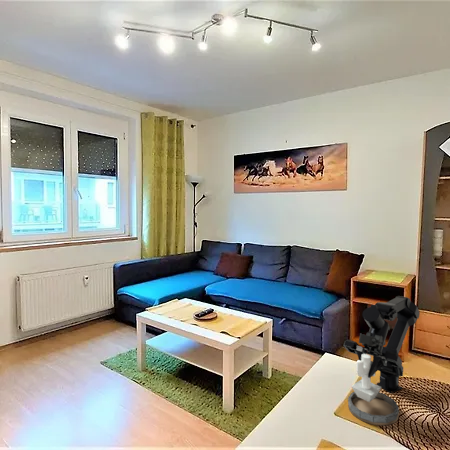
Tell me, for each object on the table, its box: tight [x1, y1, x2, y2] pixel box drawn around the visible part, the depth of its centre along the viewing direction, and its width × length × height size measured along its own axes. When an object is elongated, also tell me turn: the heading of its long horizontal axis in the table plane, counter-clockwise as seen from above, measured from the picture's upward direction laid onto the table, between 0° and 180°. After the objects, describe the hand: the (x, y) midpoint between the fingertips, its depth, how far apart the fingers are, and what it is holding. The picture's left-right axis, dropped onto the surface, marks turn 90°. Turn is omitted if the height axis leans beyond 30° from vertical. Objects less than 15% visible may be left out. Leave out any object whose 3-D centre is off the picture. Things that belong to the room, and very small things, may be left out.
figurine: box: [351, 354, 383, 402], centre depth 114 cm, size 7×9×15 cm
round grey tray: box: [347, 391, 400, 423], centre depth 115 cm, size 16×16×2 cm
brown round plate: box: [348, 397, 400, 426], centre depth 115 cm, size 16×16×1 cm
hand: (364, 376), depth 113 cm, fingers closed on figurine, 3 cm apart
